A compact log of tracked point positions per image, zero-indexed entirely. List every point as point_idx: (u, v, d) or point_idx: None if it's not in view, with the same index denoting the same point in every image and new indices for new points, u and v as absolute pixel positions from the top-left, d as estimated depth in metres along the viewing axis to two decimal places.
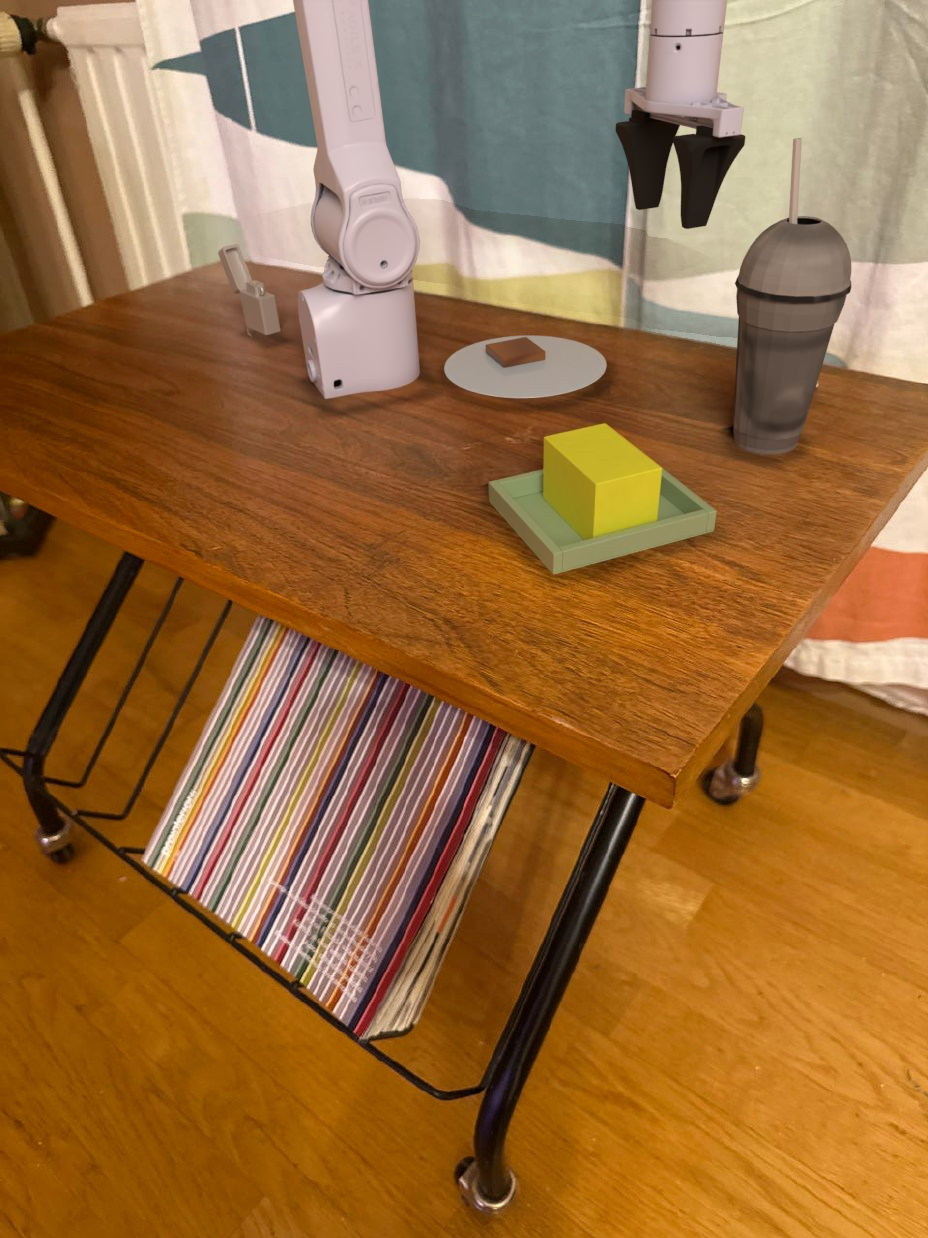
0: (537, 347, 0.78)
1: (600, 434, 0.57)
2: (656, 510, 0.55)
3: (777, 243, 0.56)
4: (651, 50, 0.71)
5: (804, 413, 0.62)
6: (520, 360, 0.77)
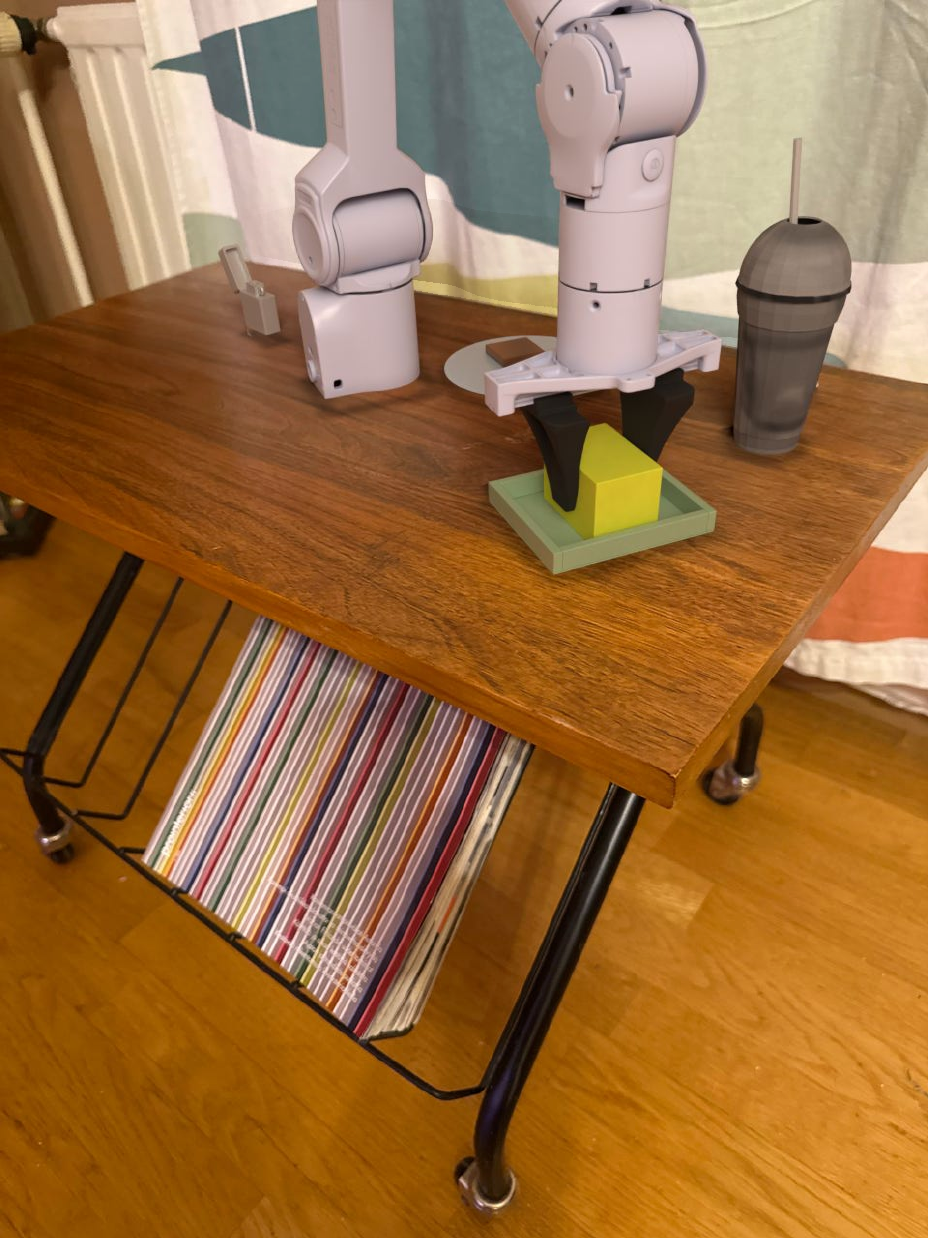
0: (537, 347, 0.78)
1: (601, 434, 0.57)
2: (657, 510, 0.55)
3: (777, 243, 0.56)
4: None
5: (804, 413, 0.62)
6: (520, 360, 0.77)
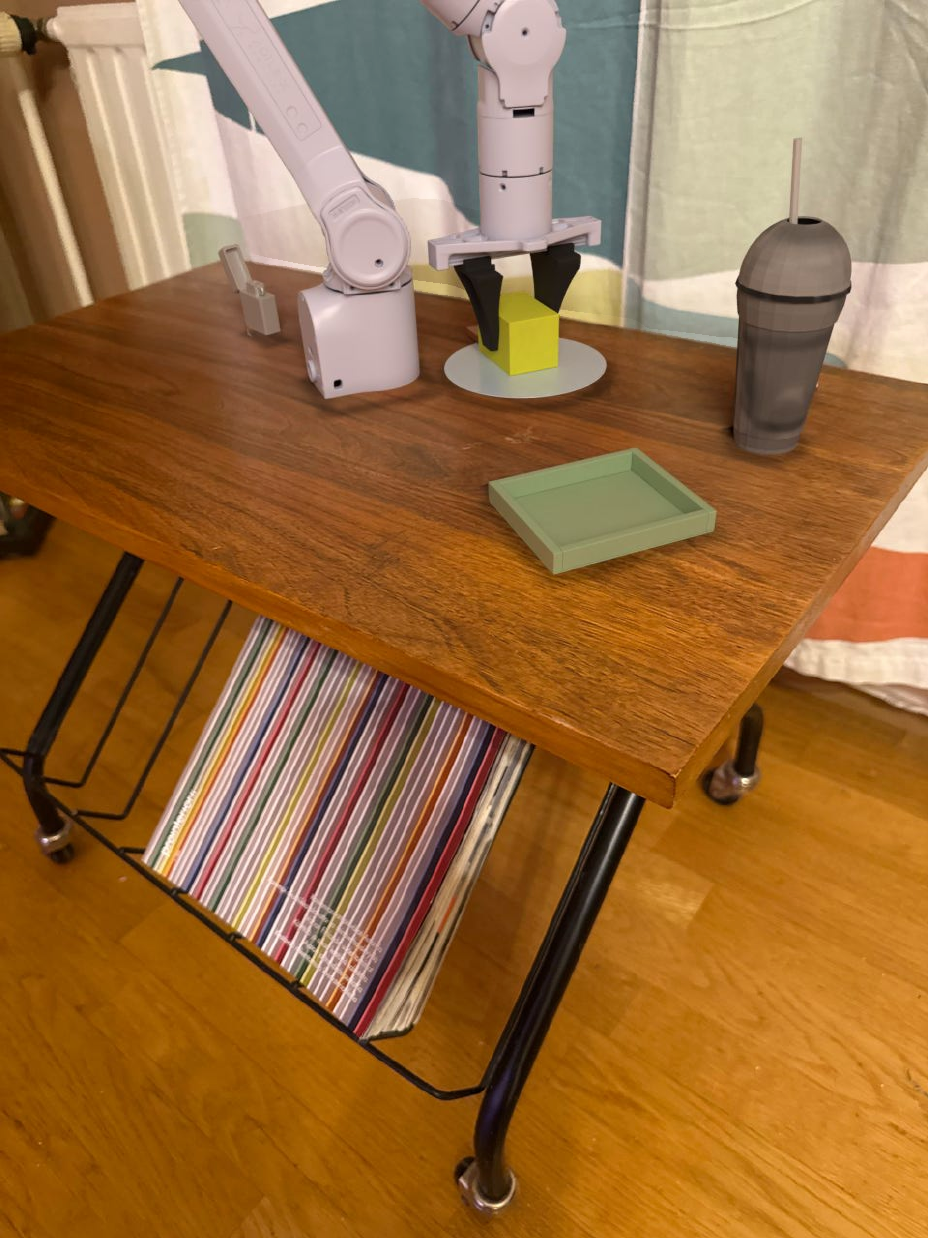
0: None
1: (519, 296, 0.78)
2: (557, 348, 0.76)
3: (777, 243, 0.56)
4: None
5: (804, 413, 0.62)
6: None
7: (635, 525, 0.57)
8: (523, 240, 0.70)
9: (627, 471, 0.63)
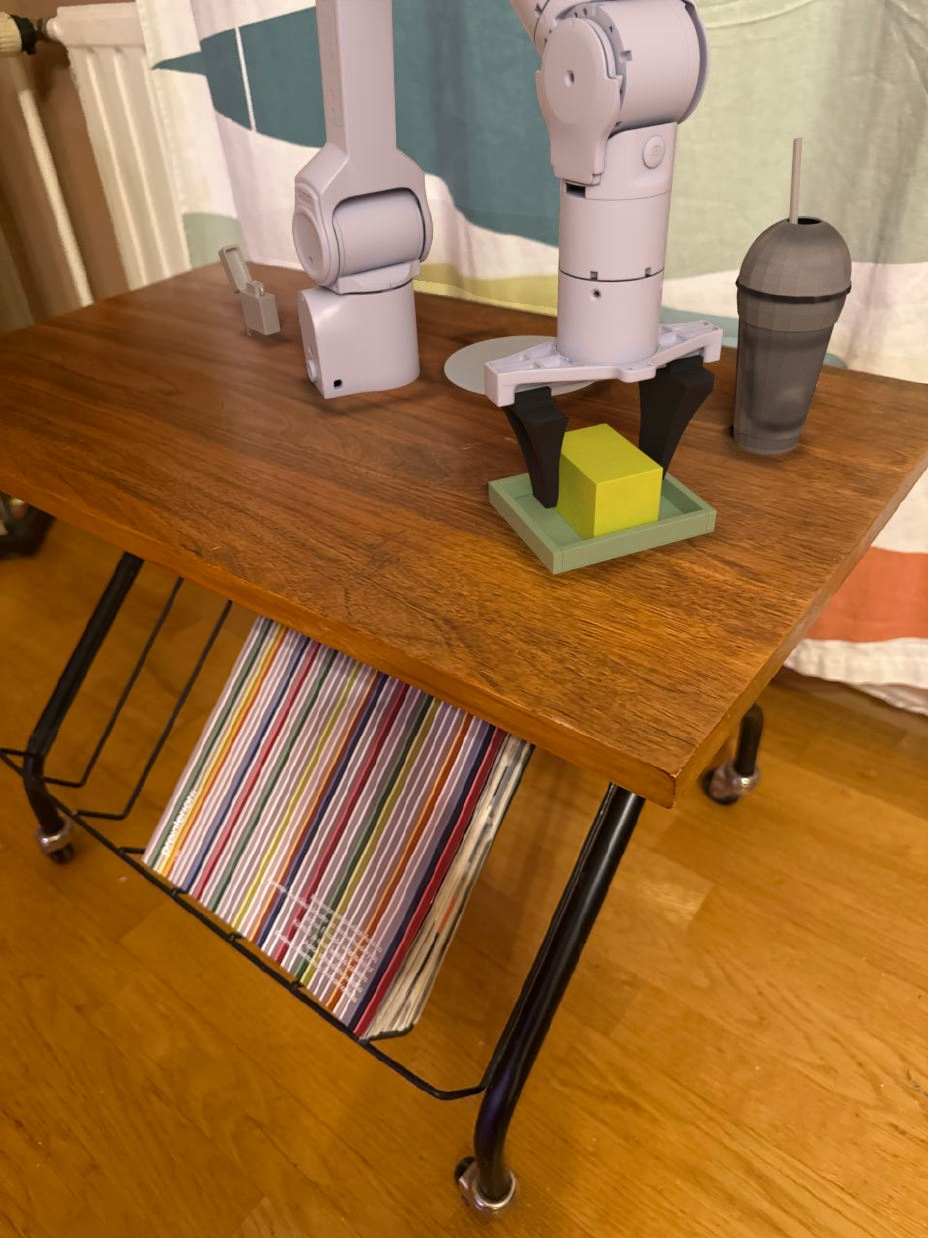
0: None
1: (601, 434, 0.57)
2: (657, 510, 0.55)
3: (777, 243, 0.56)
4: None
5: (804, 413, 0.62)
6: None
7: None
8: (622, 366, 0.49)
9: None
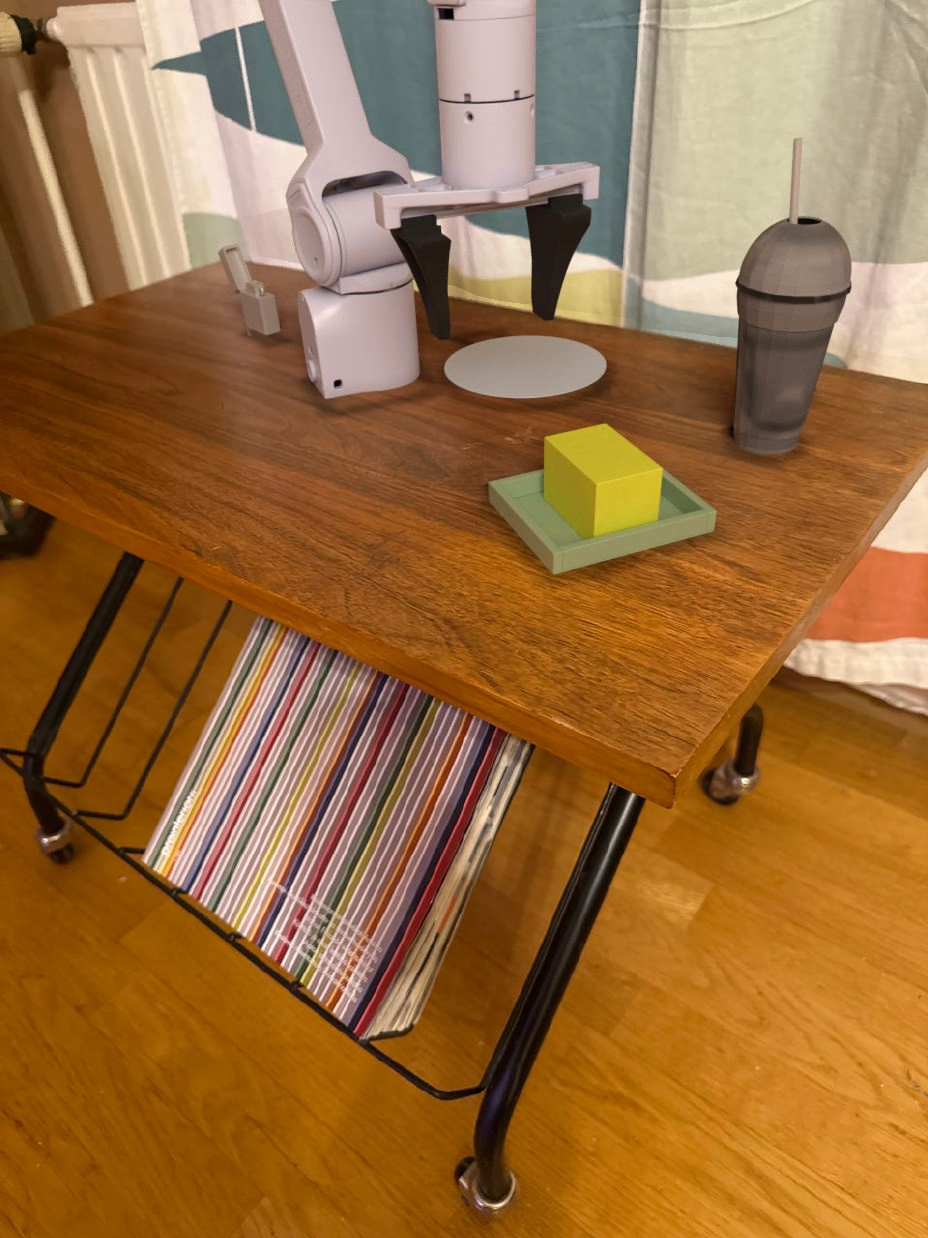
0: None
1: (601, 434, 0.57)
2: (657, 510, 0.55)
3: (777, 243, 0.56)
4: None
5: (804, 413, 0.62)
6: None
7: None
8: (497, 189, 0.53)
9: None
